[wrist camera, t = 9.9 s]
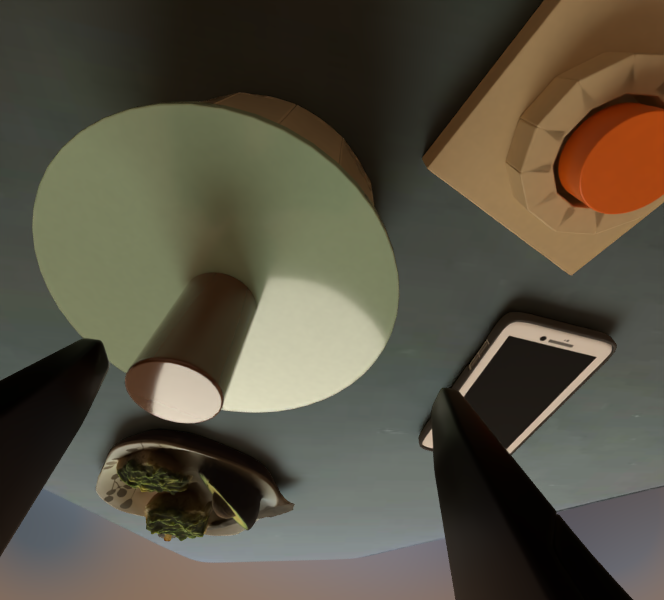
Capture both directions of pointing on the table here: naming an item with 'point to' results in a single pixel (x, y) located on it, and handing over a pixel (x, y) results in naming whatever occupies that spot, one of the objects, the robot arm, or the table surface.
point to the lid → (215, 259)
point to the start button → (616, 159)
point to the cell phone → (527, 374)
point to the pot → (302, 130)
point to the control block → (552, 121)
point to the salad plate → (188, 485)
